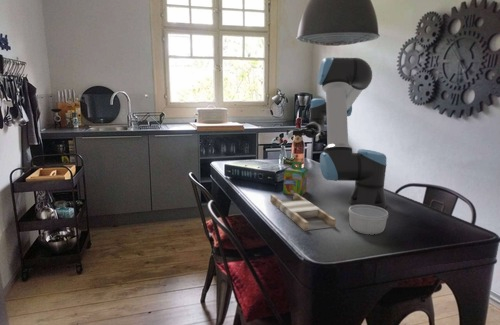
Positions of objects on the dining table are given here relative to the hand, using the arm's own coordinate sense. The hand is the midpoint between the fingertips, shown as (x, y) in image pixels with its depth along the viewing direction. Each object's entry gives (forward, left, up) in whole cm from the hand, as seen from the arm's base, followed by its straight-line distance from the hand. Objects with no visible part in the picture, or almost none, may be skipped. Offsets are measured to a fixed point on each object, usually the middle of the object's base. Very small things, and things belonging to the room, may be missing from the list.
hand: (302, 137), depth 165 cm
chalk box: (0, +8, -26) cm, 27 cm away
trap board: (-11, +33, -26) cm, 43 cm away
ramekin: (-37, +36, -26) cm, 58 cm away
